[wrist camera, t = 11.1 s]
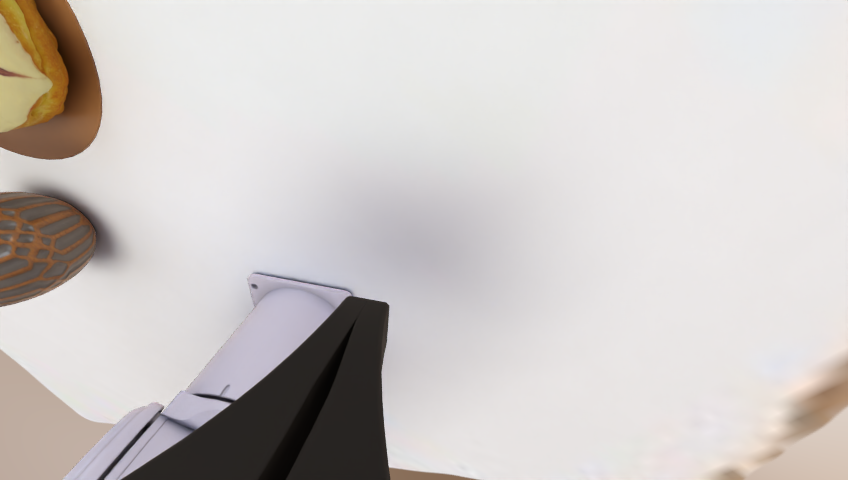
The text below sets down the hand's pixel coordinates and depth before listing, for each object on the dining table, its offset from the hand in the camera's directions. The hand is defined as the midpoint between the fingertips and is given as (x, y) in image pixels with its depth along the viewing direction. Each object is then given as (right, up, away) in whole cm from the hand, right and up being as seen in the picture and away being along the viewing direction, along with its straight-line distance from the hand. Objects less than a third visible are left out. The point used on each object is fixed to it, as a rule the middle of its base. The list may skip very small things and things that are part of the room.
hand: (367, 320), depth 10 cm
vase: (-25, +4, +13) cm, 28 cm away
